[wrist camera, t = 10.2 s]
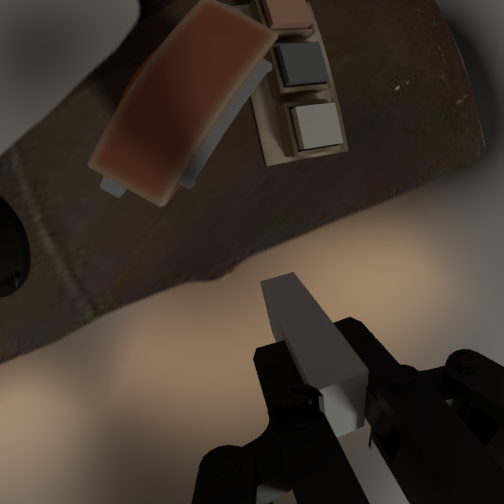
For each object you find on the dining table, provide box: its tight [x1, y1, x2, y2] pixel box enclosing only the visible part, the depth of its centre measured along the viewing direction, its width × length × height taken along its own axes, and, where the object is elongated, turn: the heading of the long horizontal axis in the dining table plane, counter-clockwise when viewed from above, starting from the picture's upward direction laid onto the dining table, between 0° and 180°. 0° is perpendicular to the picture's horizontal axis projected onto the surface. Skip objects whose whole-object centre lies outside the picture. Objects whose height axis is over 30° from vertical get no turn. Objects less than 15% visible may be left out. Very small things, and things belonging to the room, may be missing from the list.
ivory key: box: [289, 103, 343, 150], centre depth 32 cm, size 5×5×4 cm
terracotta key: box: [260, 0, 313, 30], centre depth 26 cm, size 5×5×4 cm
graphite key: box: [274, 43, 329, 88], centre depth 29 cm, size 5×5×4 cm
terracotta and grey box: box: [88, 0, 278, 207], centre depth 23 cm, size 21×7×15 cm
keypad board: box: [231, 0, 348, 166], centre depth 31 cm, size 12×24×4 cm, turn 12°
